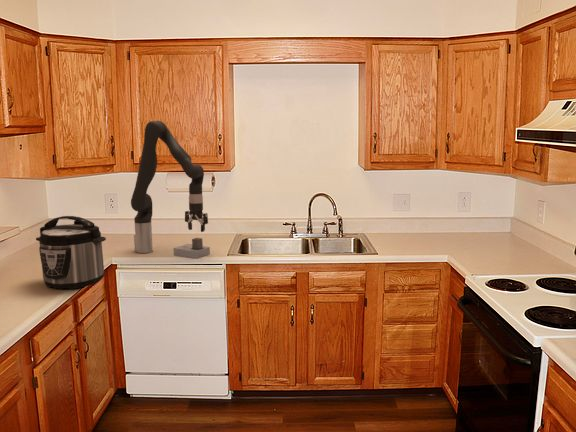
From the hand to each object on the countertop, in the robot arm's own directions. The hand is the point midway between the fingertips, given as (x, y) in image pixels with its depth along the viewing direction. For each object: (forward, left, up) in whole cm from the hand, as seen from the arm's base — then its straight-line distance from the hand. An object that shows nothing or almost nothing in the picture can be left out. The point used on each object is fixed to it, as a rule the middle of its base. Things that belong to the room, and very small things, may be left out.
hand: (196, 230), depth 310 cm
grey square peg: (0, 0, -13) cm, 13 cm away
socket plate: (-4, 0, -14) cm, 15 cm away
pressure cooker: (-20, -67, -14) cm, 72 cm away
